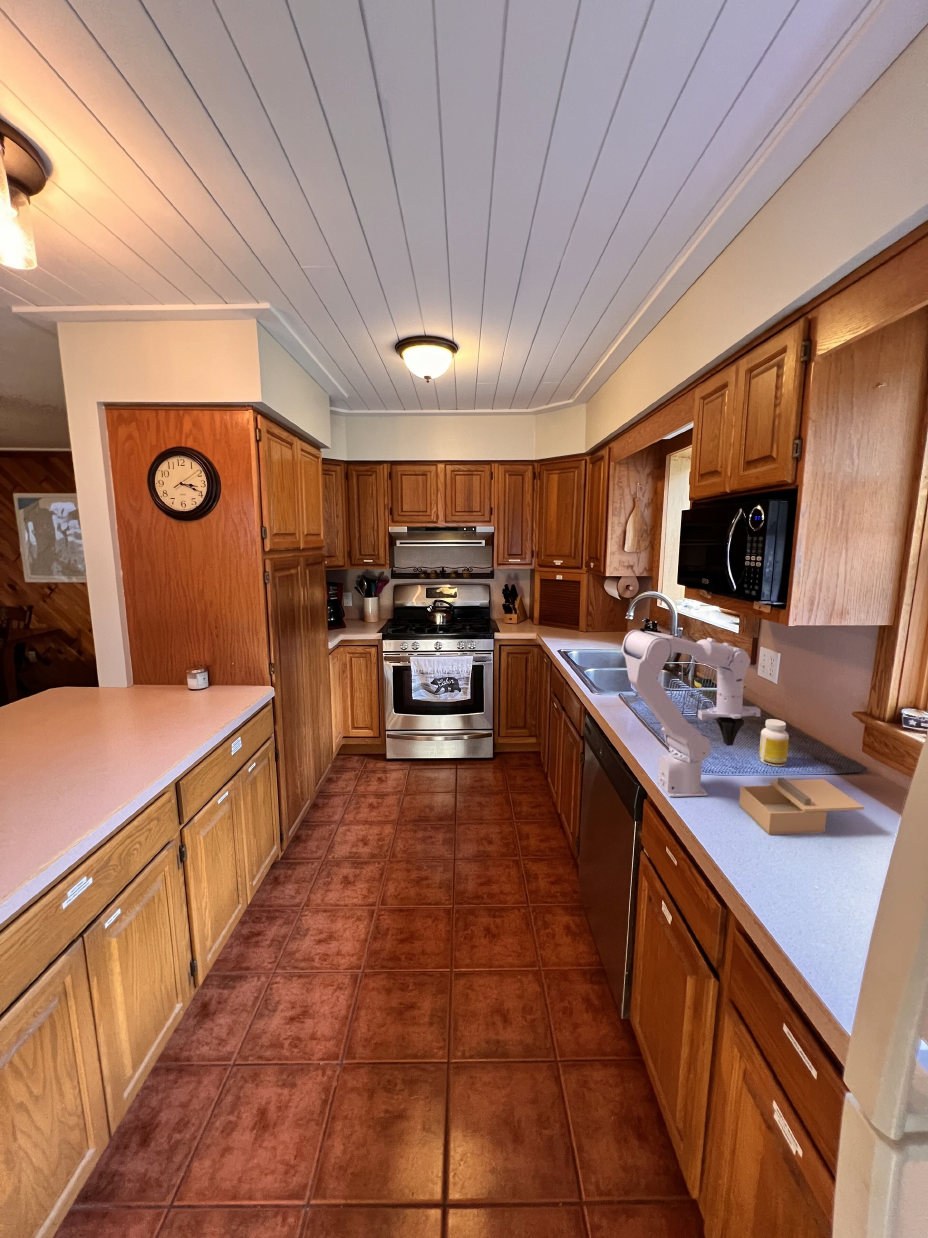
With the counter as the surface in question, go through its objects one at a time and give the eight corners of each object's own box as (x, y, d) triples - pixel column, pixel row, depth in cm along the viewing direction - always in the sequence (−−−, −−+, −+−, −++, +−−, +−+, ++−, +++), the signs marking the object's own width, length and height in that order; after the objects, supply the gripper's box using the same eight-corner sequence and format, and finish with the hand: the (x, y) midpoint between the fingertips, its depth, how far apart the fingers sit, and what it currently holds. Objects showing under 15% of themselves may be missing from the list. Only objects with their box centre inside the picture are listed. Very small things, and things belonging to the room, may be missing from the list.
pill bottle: (790, 768, 132) (794, 727, 130) (763, 766, 134) (767, 726, 131) (780, 757, 139) (784, 718, 136) (755, 756, 140) (758, 717, 138)
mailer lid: (804, 811, 104) (805, 802, 103) (769, 783, 115) (770, 775, 115) (863, 809, 104) (864, 800, 103) (823, 781, 115) (824, 773, 115)
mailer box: (768, 835, 105) (770, 813, 104) (739, 806, 116) (740, 786, 115) (824, 832, 105) (826, 811, 104) (789, 804, 116) (791, 784, 115)
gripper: (707, 701, 119) (706, 753, 122) (768, 696, 119) (766, 749, 121) (694, 691, 126) (694, 740, 129) (752, 687, 126) (750, 736, 128)
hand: (728, 743), depth 126 cm, fingers closed
